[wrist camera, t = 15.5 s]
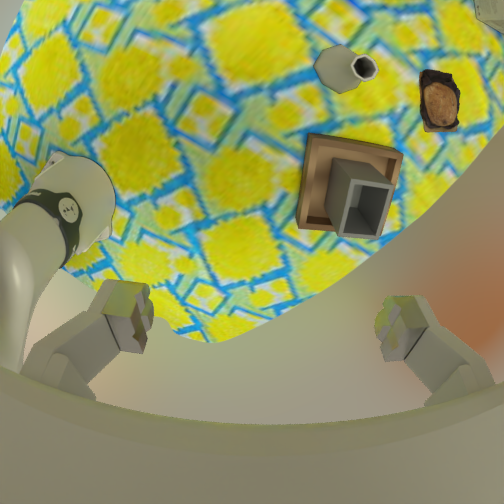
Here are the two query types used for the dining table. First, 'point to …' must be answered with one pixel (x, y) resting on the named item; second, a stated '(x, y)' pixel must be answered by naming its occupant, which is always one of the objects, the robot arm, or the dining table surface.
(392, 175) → the tray
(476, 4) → the supplement box
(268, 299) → the dining table surface
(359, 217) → the small crate
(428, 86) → the bread roll
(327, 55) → the flask
